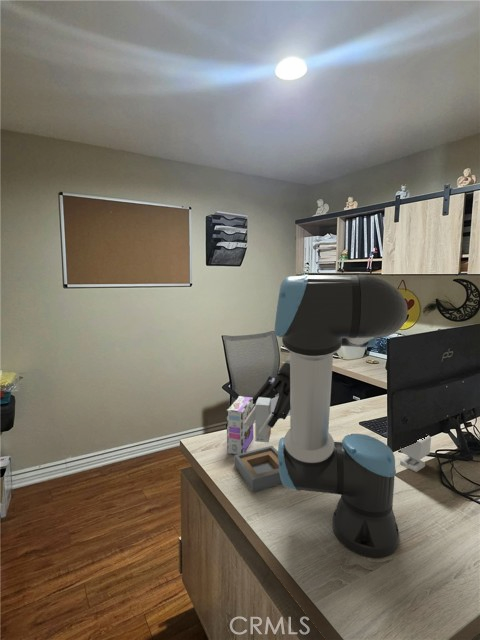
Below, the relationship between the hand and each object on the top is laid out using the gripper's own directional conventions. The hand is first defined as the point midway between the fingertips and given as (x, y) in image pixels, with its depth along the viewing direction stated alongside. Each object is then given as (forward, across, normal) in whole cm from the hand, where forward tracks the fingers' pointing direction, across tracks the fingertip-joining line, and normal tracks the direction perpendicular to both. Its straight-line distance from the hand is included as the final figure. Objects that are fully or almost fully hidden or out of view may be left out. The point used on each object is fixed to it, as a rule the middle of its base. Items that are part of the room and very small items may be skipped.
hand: (254, 429), depth 100 cm
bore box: (+9, 0, -13) cm, 16 cm away
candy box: (+7, +18, -16) cm, 25 cm away
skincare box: (0, 0, -5) cm, 5 cm away
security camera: (-22, -24, -44) cm, 55 cm away
